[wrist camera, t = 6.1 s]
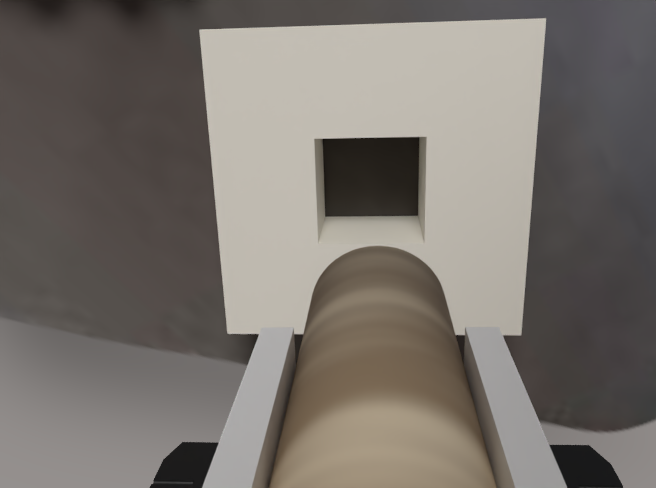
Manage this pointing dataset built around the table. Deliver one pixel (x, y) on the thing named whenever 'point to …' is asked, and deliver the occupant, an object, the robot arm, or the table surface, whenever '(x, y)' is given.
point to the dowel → (380, 384)
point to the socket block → (374, 122)
